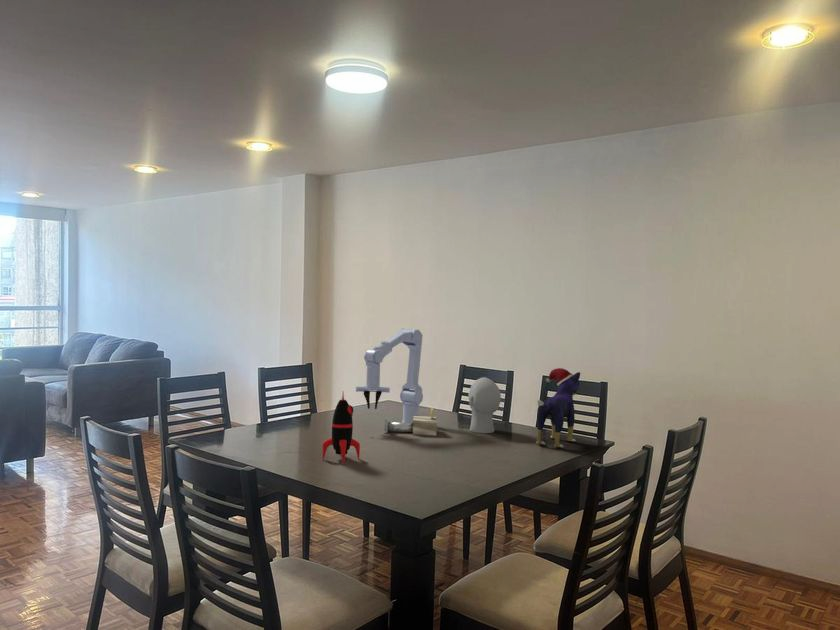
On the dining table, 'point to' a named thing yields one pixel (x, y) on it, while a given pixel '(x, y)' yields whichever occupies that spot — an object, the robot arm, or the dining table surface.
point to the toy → (559, 405)
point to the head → (483, 404)
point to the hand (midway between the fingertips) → (372, 408)
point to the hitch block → (424, 425)
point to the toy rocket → (342, 430)
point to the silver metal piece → (397, 426)
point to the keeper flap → (431, 413)
